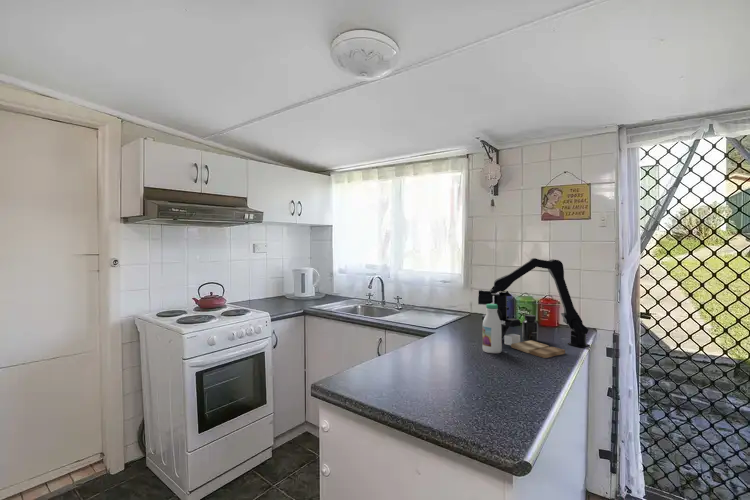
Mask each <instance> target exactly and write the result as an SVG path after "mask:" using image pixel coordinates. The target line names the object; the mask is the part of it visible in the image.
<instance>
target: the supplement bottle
mask: <svg viewBox="0 0 750 500" xmlns="http://www.w3.org/2000/svg"><path fill="white" fill-rule="evenodd" d="M536 320H537V317H536V315H535V314H525V315H524V320H523V321H522V329H521V330H522V331H521V333H522V334H521V337H522V338H521V340H522V341H523V342H525V341H530V340H532V341H535V342H538V340H539V336H538V335H539V324H538V321H536Z"/></svg>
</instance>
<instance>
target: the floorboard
mask: <svg viewBox="0 0 750 500" xmlns="http://www.w3.org/2000/svg"><path fill="white" fill-rule="evenodd" d="M529 354H530V355H532V356H536V357H540V358H543V359H547V358H552V357H556V356H561V355H565V354H566V349H563V348H559V347H557V346H556V347H554V346H549V347H547V348H542V349H537V350H532V352H530V353H529Z"/></svg>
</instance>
